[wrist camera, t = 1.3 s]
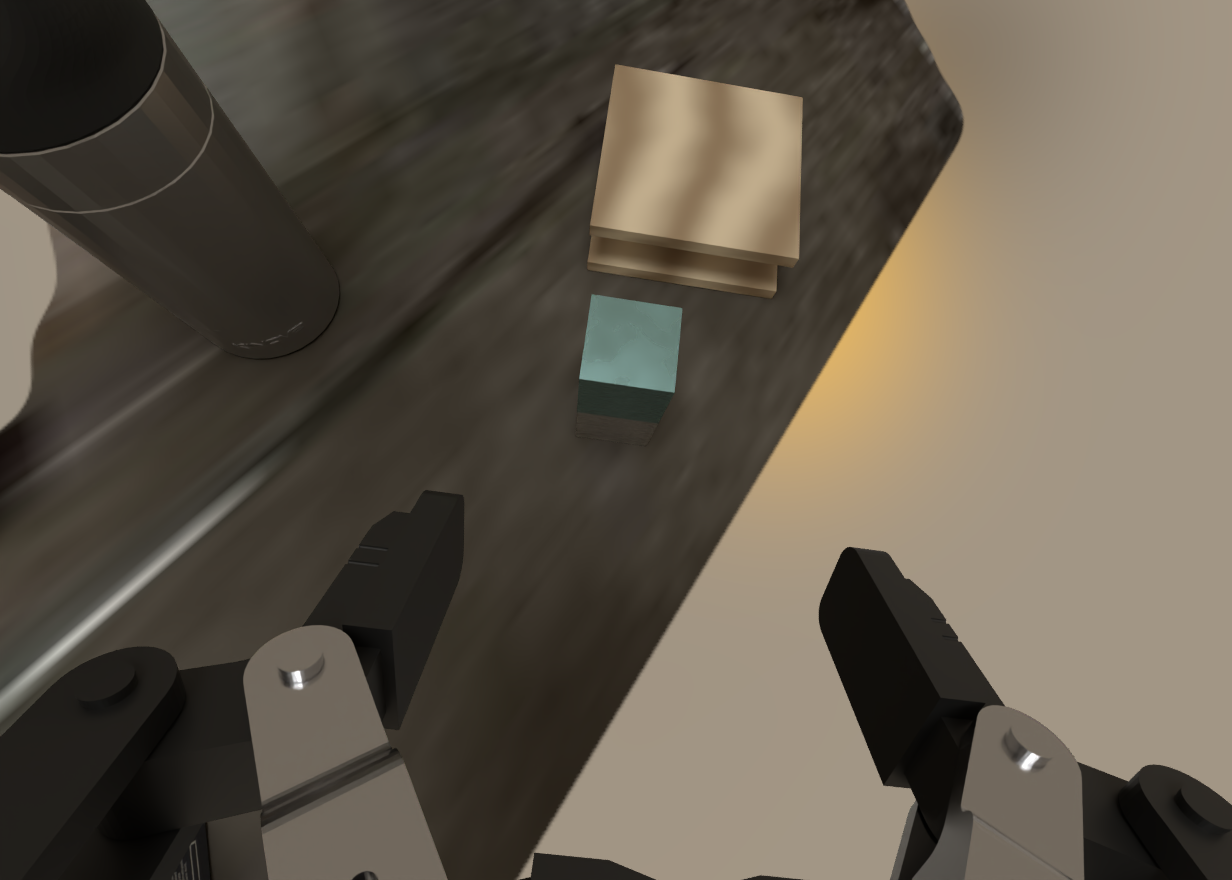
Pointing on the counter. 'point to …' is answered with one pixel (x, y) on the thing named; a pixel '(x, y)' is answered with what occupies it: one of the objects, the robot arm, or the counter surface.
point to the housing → (627, 369)
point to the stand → (697, 183)
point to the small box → (195, 860)
